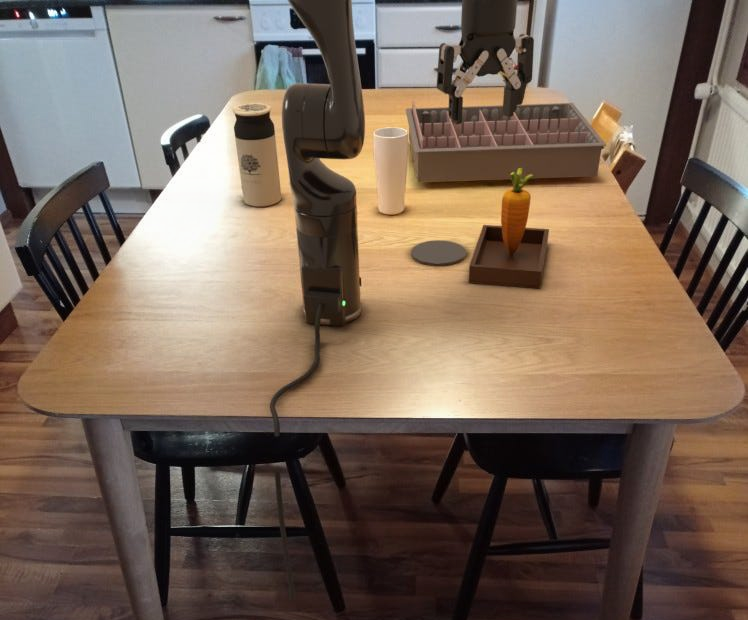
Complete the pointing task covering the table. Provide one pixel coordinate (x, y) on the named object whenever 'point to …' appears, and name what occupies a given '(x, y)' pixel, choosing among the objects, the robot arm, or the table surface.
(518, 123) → the organizer tray
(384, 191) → the drinking glass
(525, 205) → the carrot
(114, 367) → the table surface
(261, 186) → the travel mug
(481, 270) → the tray
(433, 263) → the metal coaster
